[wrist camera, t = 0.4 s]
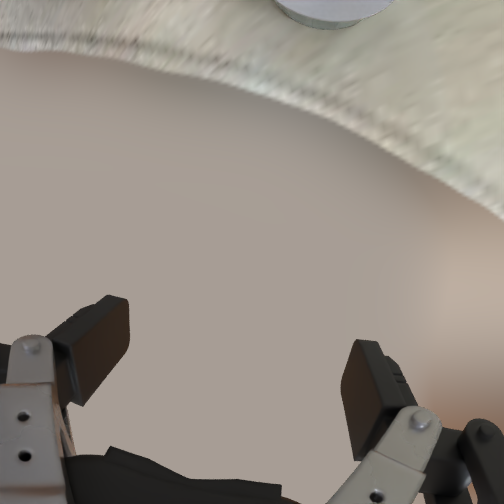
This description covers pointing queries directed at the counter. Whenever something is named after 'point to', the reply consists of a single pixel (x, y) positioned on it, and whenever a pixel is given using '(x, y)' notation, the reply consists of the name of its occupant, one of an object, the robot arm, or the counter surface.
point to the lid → (336, 8)
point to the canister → (313, 22)
